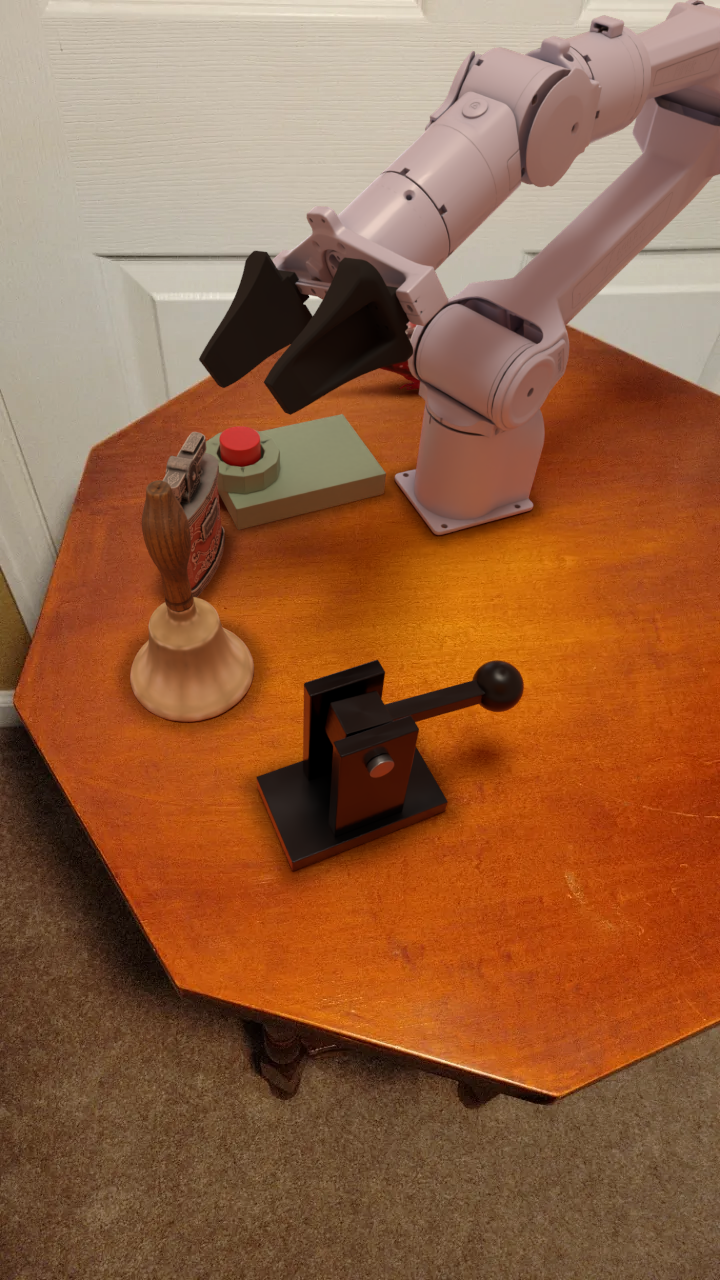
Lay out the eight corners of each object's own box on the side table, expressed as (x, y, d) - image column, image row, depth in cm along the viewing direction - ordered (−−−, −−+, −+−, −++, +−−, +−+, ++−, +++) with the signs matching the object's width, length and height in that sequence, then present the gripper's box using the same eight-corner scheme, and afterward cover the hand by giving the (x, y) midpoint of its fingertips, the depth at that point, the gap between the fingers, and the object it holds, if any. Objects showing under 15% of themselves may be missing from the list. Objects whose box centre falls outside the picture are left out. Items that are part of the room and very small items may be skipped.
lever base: (401, 735, 53) (419, 637, 45) (445, 811, 49) (472, 719, 42) (256, 786, 49) (249, 691, 42) (292, 871, 46) (291, 784, 39)
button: (253, 440, 66) (252, 422, 65) (266, 463, 64) (265, 445, 63) (215, 448, 65) (213, 430, 64) (228, 471, 63) (226, 453, 62)
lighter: (200, 605, 59) (186, 498, 51) (156, 596, 59) (135, 489, 51) (233, 533, 64) (225, 427, 56) (192, 526, 64) (179, 419, 57)
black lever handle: (498, 677, 49) (512, 645, 47) (524, 715, 47) (540, 682, 45) (320, 726, 45) (327, 692, 42) (342, 770, 43) (350, 737, 41)
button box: (341, 434, 73) (343, 396, 70) (384, 494, 68) (388, 455, 65) (192, 467, 69) (187, 427, 66) (225, 533, 64) (221, 494, 61)
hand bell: (147, 738, 51) (101, 556, 39) (118, 645, 56) (68, 457, 44) (271, 700, 54) (263, 518, 42) (232, 614, 58) (216, 428, 46)
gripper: (307, 154, 48) (143, 308, 46) (470, 146, 37) (267, 344, 35) (362, 260, 52) (216, 402, 51) (520, 278, 42) (343, 458, 40)
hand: (242, 385), depth 43 cm, fingers open, 7 cm apart
